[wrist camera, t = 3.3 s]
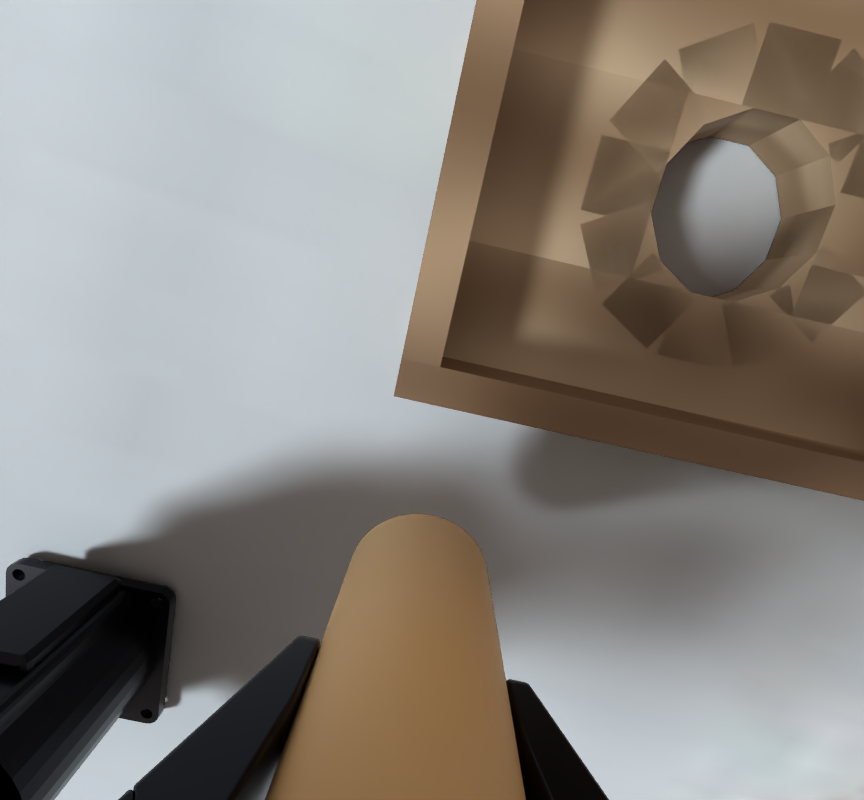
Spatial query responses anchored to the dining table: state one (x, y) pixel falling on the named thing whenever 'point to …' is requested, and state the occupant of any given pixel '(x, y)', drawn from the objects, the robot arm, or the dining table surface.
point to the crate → (651, 234)
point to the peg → (406, 679)
